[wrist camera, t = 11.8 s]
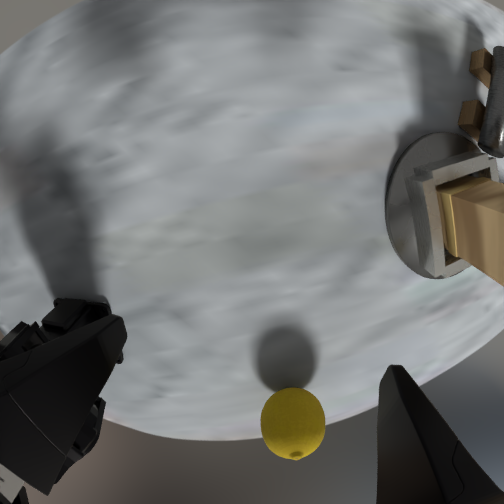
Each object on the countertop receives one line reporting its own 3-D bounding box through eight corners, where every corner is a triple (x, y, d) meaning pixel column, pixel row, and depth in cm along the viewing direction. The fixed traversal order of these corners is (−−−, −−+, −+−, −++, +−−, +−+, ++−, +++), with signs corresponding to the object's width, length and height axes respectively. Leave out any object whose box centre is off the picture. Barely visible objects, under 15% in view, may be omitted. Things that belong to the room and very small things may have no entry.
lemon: (248, 385, 25) (246, 456, 17) (300, 361, 24) (313, 433, 16) (279, 414, 26) (283, 477, 18) (326, 392, 25) (342, 457, 17)
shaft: (477, 157, 17) (511, 162, 13) (453, 137, 17) (489, 138, 13) (494, 71, 14) (524, 65, 10) (472, 50, 14) (501, 40, 10)
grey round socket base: (398, 295, 21) (415, 315, 18) (366, 150, 18) (386, 151, 15) (493, 248, 20) (514, 260, 17) (477, 123, 16) (502, 122, 13)
